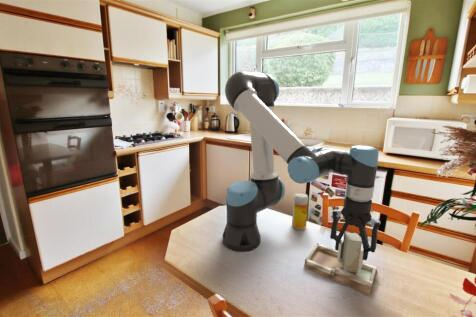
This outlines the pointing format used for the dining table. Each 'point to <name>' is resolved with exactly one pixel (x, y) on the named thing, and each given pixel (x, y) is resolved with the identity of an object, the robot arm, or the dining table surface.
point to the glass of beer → (300, 210)
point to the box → (351, 252)
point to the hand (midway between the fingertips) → (349, 262)
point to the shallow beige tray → (339, 269)
